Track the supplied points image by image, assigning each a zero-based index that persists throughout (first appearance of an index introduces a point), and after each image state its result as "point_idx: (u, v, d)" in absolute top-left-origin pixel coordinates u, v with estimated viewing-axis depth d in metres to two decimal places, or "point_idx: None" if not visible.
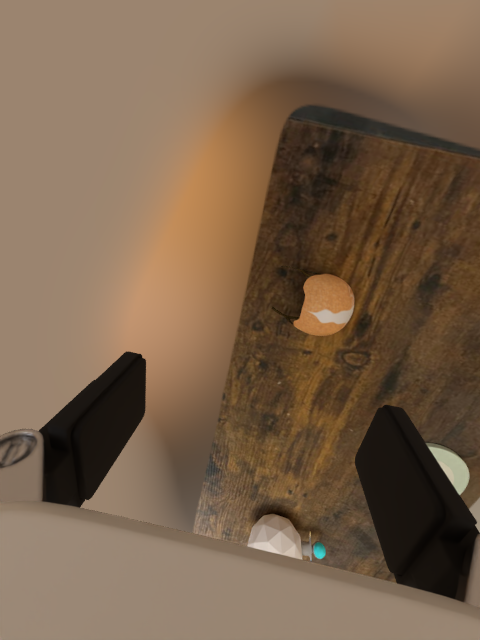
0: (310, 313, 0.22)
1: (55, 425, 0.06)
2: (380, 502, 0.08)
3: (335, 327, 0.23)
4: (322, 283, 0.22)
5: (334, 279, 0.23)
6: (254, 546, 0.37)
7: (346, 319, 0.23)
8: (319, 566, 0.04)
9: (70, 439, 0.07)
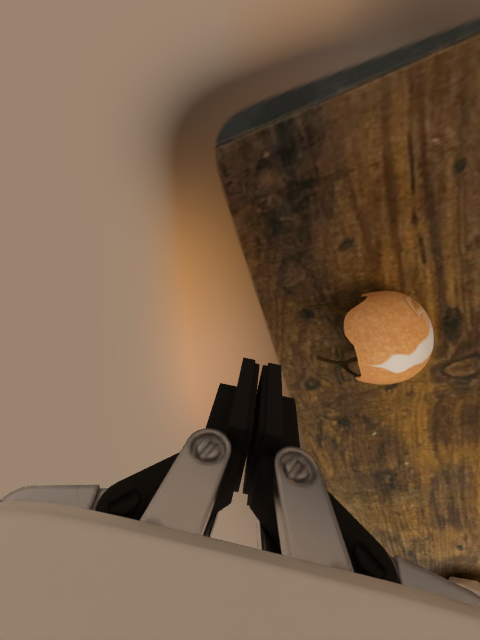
0: (374, 367, 0.15)
1: (235, 425, 0.07)
2: (250, 441, 0.10)
3: (420, 367, 0.15)
4: (368, 318, 0.15)
5: (382, 303, 0.15)
6: None
7: (430, 347, 0.15)
8: (319, 566, 0.04)
9: (243, 437, 0.08)
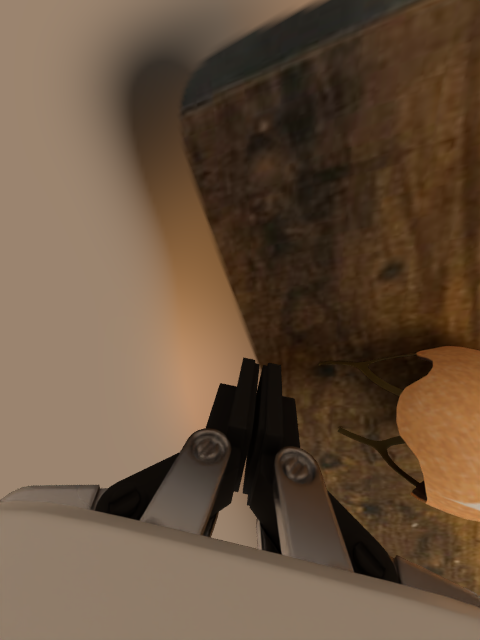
0: (458, 504, 0.08)
1: (235, 425, 0.07)
2: (250, 442, 0.10)
3: None
4: (446, 413, 0.08)
5: (468, 382, 0.09)
6: None
7: None
8: (319, 566, 0.04)
9: (243, 437, 0.08)
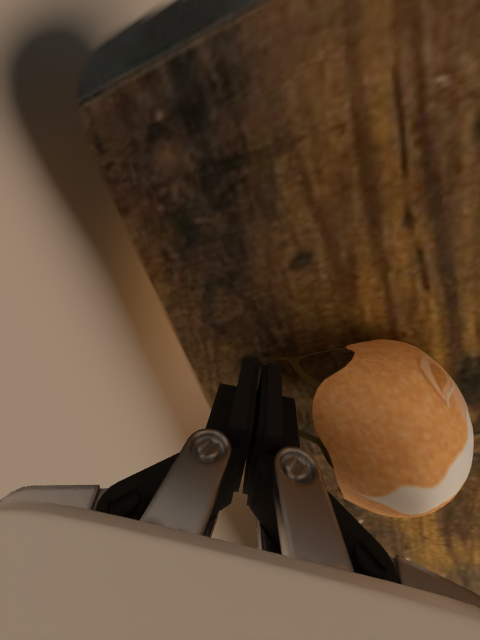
0: (365, 497, 0.08)
1: (235, 425, 0.07)
2: (250, 442, 0.10)
3: (452, 497, 0.08)
4: (354, 405, 0.08)
5: (379, 374, 0.09)
6: None
7: (470, 461, 0.08)
8: (319, 566, 0.04)
9: (243, 437, 0.08)
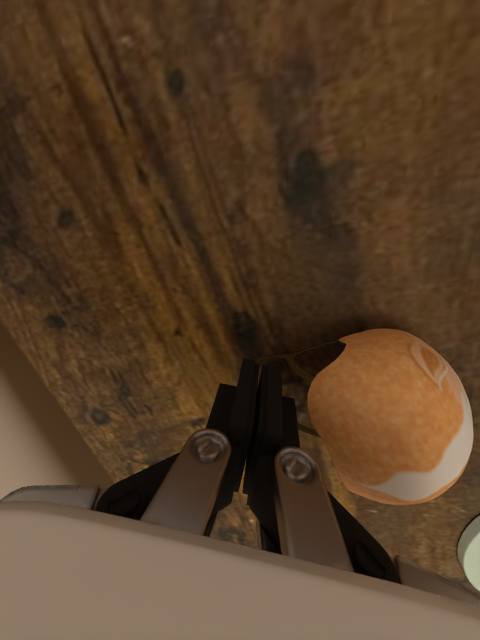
0: (365, 487, 0.08)
1: (235, 425, 0.07)
2: (250, 442, 0.10)
3: (455, 481, 0.08)
4: (346, 396, 0.08)
5: (369, 363, 0.09)
6: None
7: (470, 443, 0.08)
8: (319, 566, 0.04)
9: (243, 437, 0.08)
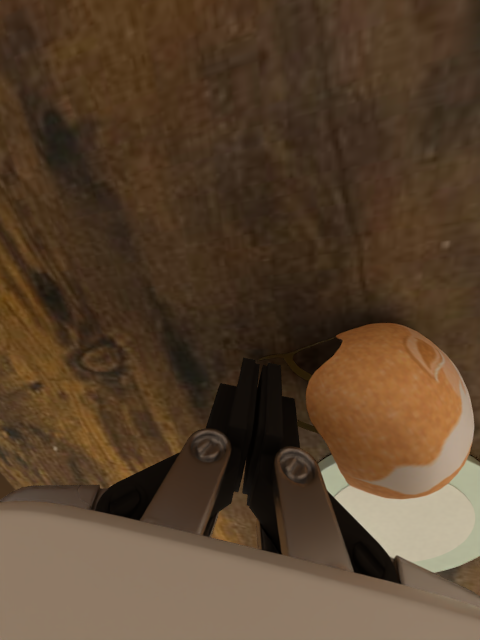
0: (367, 483, 0.08)
1: (235, 425, 0.07)
2: (249, 441, 0.10)
3: (457, 473, 0.08)
4: (343, 392, 0.08)
5: (365, 358, 0.09)
6: None
7: (470, 434, 0.08)
8: (319, 566, 0.04)
9: (243, 437, 0.08)
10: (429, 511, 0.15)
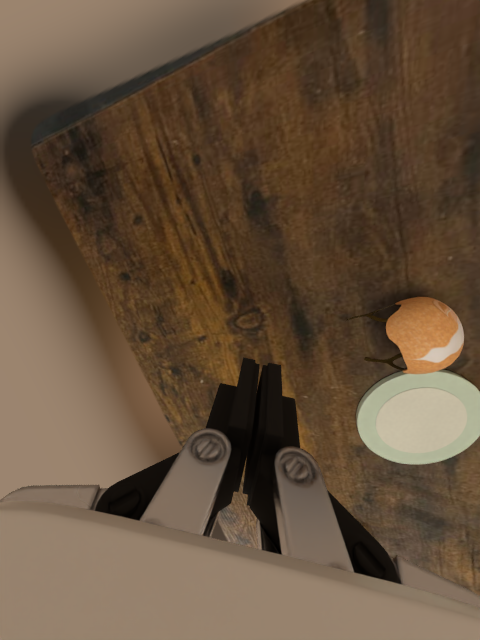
0: (417, 360, 0.19)
1: (235, 425, 0.07)
2: (250, 441, 0.10)
3: (456, 355, 0.19)
4: (406, 323, 0.19)
5: (415, 309, 0.19)
6: None
7: (462, 339, 0.19)
8: (319, 566, 0.04)
9: (243, 437, 0.08)
10: (439, 413, 0.26)
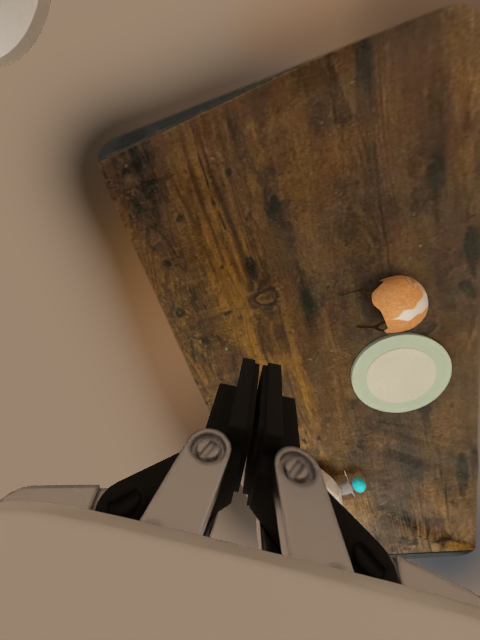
0: (394, 320, 0.26)
1: (235, 425, 0.07)
2: (250, 442, 0.10)
3: (421, 315, 0.26)
4: (386, 293, 0.26)
5: (392, 283, 0.26)
6: None
7: (426, 304, 0.26)
8: (319, 566, 0.04)
9: (243, 437, 0.08)
10: (415, 368, 0.33)
